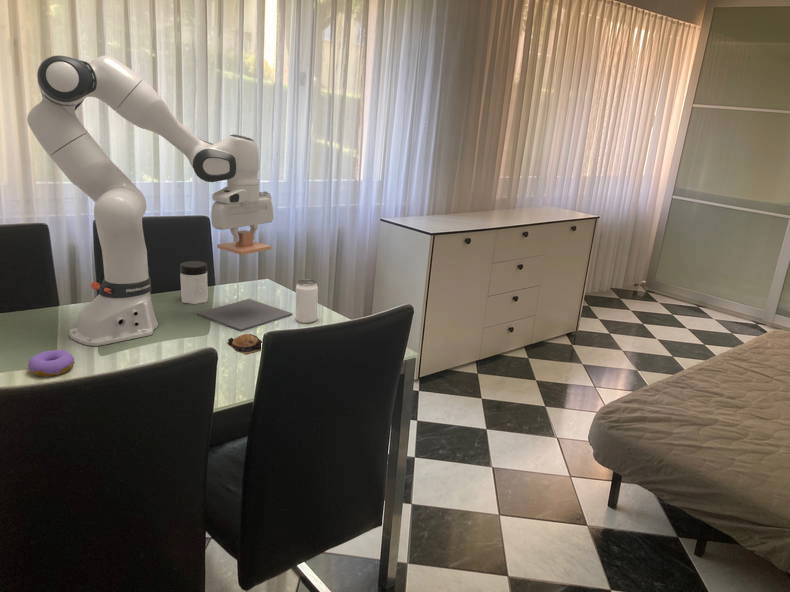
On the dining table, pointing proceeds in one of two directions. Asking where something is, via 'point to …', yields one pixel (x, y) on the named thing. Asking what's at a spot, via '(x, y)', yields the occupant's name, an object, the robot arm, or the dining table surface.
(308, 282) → the can
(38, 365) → the donut
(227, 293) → the dining table surface
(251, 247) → the lid
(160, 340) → the dining table surface
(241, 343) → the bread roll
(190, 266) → the jar
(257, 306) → the mat
